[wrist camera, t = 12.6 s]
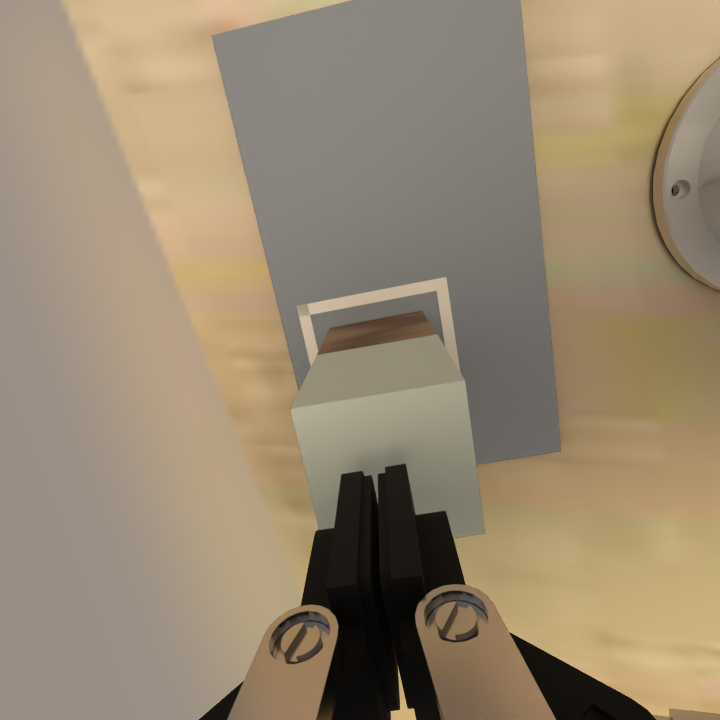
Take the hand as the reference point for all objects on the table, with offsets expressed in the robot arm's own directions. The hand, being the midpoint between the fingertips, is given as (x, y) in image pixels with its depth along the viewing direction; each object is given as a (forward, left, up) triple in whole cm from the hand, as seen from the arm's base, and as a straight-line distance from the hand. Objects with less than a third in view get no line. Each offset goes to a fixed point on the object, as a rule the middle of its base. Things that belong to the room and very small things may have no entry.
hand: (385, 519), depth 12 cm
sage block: (0, 0, -8) cm, 8 cm away
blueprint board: (-2, -5, -15) cm, 16 cm away
